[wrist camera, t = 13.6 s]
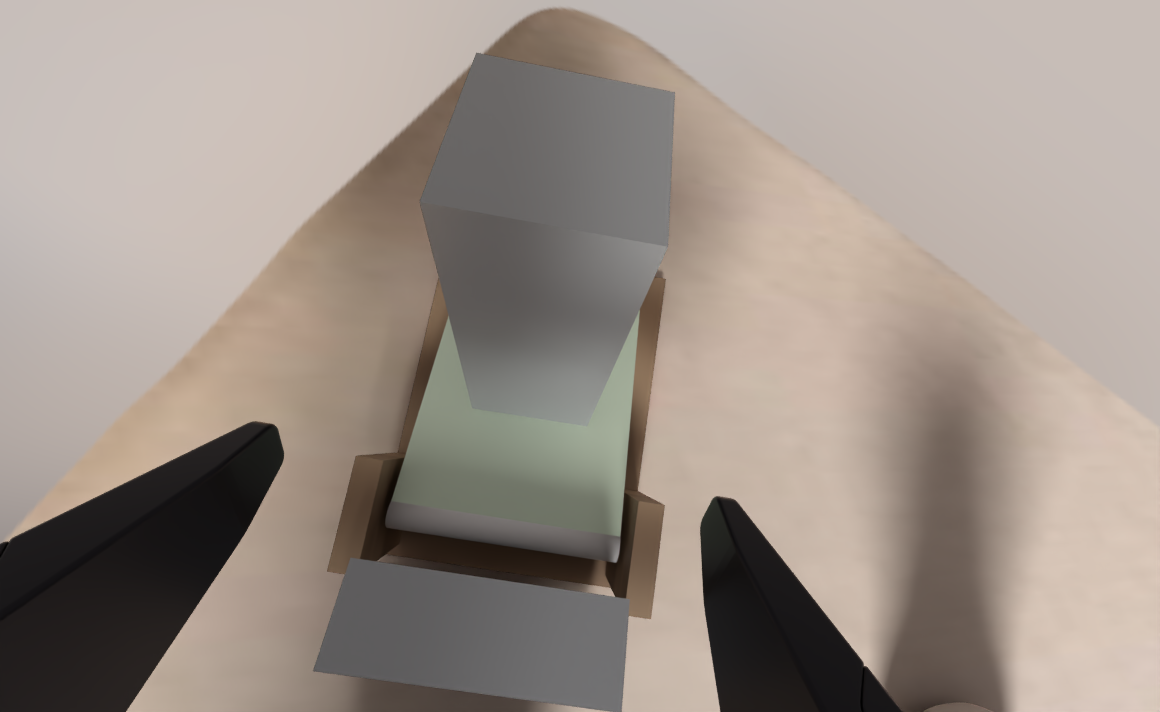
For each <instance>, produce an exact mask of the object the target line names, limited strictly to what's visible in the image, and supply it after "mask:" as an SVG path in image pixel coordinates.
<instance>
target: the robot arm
mask: <svg viewBox="0 0 1160 712" xmlns="http://www.w3.org/2000/svg"><path fill="white" fill-rule="evenodd" d="M283 459H284V451H283V447H282V443H281V439H280V435H279V431H278V428H277V427H276V426H275V425H274V424H270V423H263V422H257V421H255V422H250V423H247V424H245V425H243V426H241V427H239V428H237V429H235V430H233V431H231V432H229V433H227V434H225V435H223V436H221V437H219V438H217V439H215V440H212V441H210V442H208V443H206V444H204V445H202V446H200V447H198V448H196V449H194V450H192V451H190V452H188V453H186V454H184V455H182V456H180V457H178V458H176V459H173V460H171V461H169V462H167V463H165V464H163V465H161V466H159V467H157V468H155V469H153V470H151V471H149V472H147V473H145V474H143V475H141V476H139V477H136V478H134V479H132V480H130V481H128V482H126V483H124V484H122V485H120V486H118V487H116V488H114V489H112V490H110V491H108V492H106V493H104V494H102V495H100V496H97V497H95V498H93V499H91V500H89V501H87V502H85V503H83V504H81V505H79V506H77V507H75V508H73V509H71V510H69V511H67V512H65V513H63V514H61V515H58V516H56V517H54V518H52V519H50V520H48V521H46V522H44V523H42V524H40V525H38V526H36V527H34V528H32V529H30V530H28V531H26V532H24V533H21V534H19V535H17V536H15V537H13V538H12V539H11V540H10V541H9V542H3V543H1V544H0V712H126V711H127V709H128V708H129V706H130V705H131V703H132V702H133V700H134V699H135V697H136V696H137V694H138V693H139V691H140V690H141V688H142V687H143V686H144V684H145V683H146V681H147V680H148V678H149V677H150V675H151V674H152V672H153V671H154V669H155V668H156V666H157V665H158V663H159V662H160V660H161V659H162V657H163V656H164V654H165V653H166V651H167V650H168V648H169V647H170V645H171V644H172V642H173V641H174V639H175V638H176V636H177V635H178V633H179V632H180V630H181V629H182V627H183V626H184V624H185V623H186V621H187V620H188V618H189V617H190V615H191V614H192V612H193V611H194V609H195V608H196V606H197V605H198V603H199V602H200V600H201V599H202V597H203V596H204V594H205V593H206V591H207V590H208V588H209V587H210V585H211V584H212V582H213V581H214V580H215V578H216V577H217V575H218V574H219V572H220V571H221V569H222V568H223V566H224V565H225V563H226V562H227V560H228V559H229V557H230V556H231V554H232V553H233V551H234V550H235V548H236V547H237V545H238V544H239V542H240V540H241V539H242V537H243V536H244V534H245V532H246V531H247V529H248V527H249V525H250V524H251V522H252V520H253V518H254V516H255V514H256V512H257V510H258V509H259V507H260V505H261V503H262V501H263V499H264V497H265V495H266V493H267V491H268V490H269V488H270V486H271V484H272V482H273V480H274V478H275V476H276V474H277V473H278V471H279V469H280V467H281V465H282V462H283ZM700 535H701V557H702V578H703V597H704V607H705V615H706V622H707V628H708V634H709V641H710V647H711V654H712V660H713V667H714V673H715V679H716V686H717V692H718V699H719V705H720V712H903V711H902V710H901V708H900V707H899V706H898V705H897V704H896V702H895V701H894V700H893V699H892V697H891V696H890V695H889V694H888V692H887V691H886V690H885V689H884V688H883V686H882V685H881V684H880V682H879V681H878V680H877V679H876V677H875V676H874V675H873V674H872V672H871V671H870V670H869V669H868V667H866V666H864V663H863V661H862V660H861V659H860V657H859V656H858V655H857V653H856V652H855V651H854V650H853V648H852V647H851V646H850V645H849V643H848V642H847V641H846V640H845V638H844V637H843V636H842V634H841V633H840V632H839V631H838V629H837V628H836V627H835V626H834V624H833V623H832V622H831V620H830V619H829V618H828V617H827V615H826V614H825V613H824V612H823V610H822V609H821V608H820V606H819V605H818V604H817V603H816V601H815V600H814V599H813V598H812V596H811V595H810V594H809V593H808V591H807V590H806V589H805V587H804V586H803V585H802V584H801V582H800V581H799V580H798V579H797V577H796V576H795V575H794V573H793V572H792V571H791V570H790V568H789V567H788V566H787V565H786V563H785V562H784V561H783V559H782V558H781V557H780V556H779V554H778V553H777V552H776V551H775V549H774V548H773V547H772V546H771V544H770V543H769V542H768V540H767V539H766V538H765V537H764V535H763V534H762V533H761V532H760V530H759V529H758V528H757V526H756V525H755V524H754V523H753V521H752V520H751V519H750V518H749V516H748V515H747V514H746V512H745V511H744V510H743V509H742V507H741V506H740V505H739V504H738V502H737V501H735V500H734V499H732V498H726V497H720V496H716V497H714V498H713V500H712V501H711V503H710V505H709V507H708V509H707V511H706V513H705V515H704V517H703V519H702V522H701V527H700Z"/></svg>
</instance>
